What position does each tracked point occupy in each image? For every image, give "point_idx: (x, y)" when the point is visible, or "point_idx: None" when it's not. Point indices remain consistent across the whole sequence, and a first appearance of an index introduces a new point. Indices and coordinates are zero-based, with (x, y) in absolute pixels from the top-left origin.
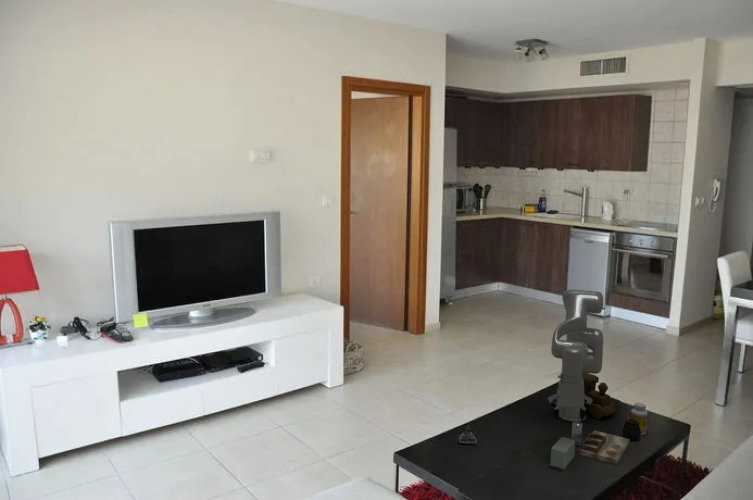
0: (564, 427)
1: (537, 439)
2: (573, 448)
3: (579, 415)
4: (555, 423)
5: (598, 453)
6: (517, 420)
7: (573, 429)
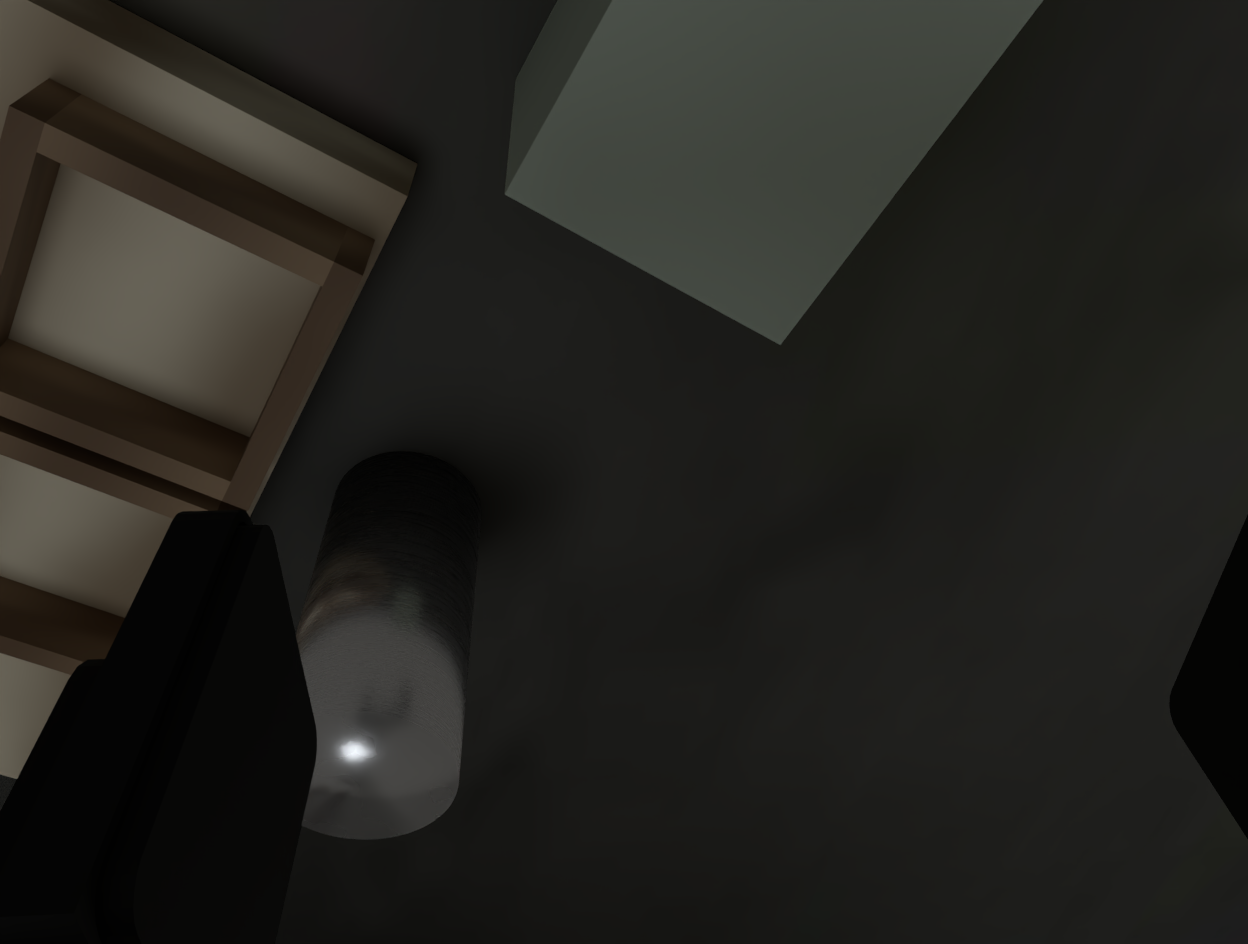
0: (493, 854)
1: (949, 564)
2: (560, 47)
3: (309, 788)
4: (581, 911)
5: (21, 68)
6: (998, 916)
7: (450, 659)
